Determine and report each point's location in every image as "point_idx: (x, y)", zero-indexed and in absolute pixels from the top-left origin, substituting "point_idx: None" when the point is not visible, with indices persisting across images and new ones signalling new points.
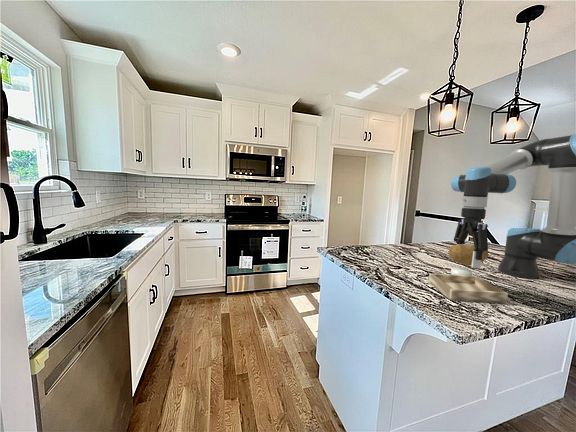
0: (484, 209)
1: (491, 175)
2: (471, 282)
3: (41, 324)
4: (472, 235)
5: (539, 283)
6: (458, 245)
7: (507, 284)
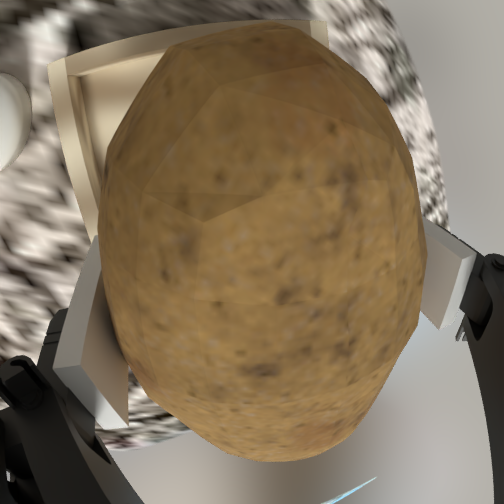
0: None
1: None
2: (80, 91)
3: (367, 482)
4: (501, 486)
5: None
6: (335, 444)
7: None
